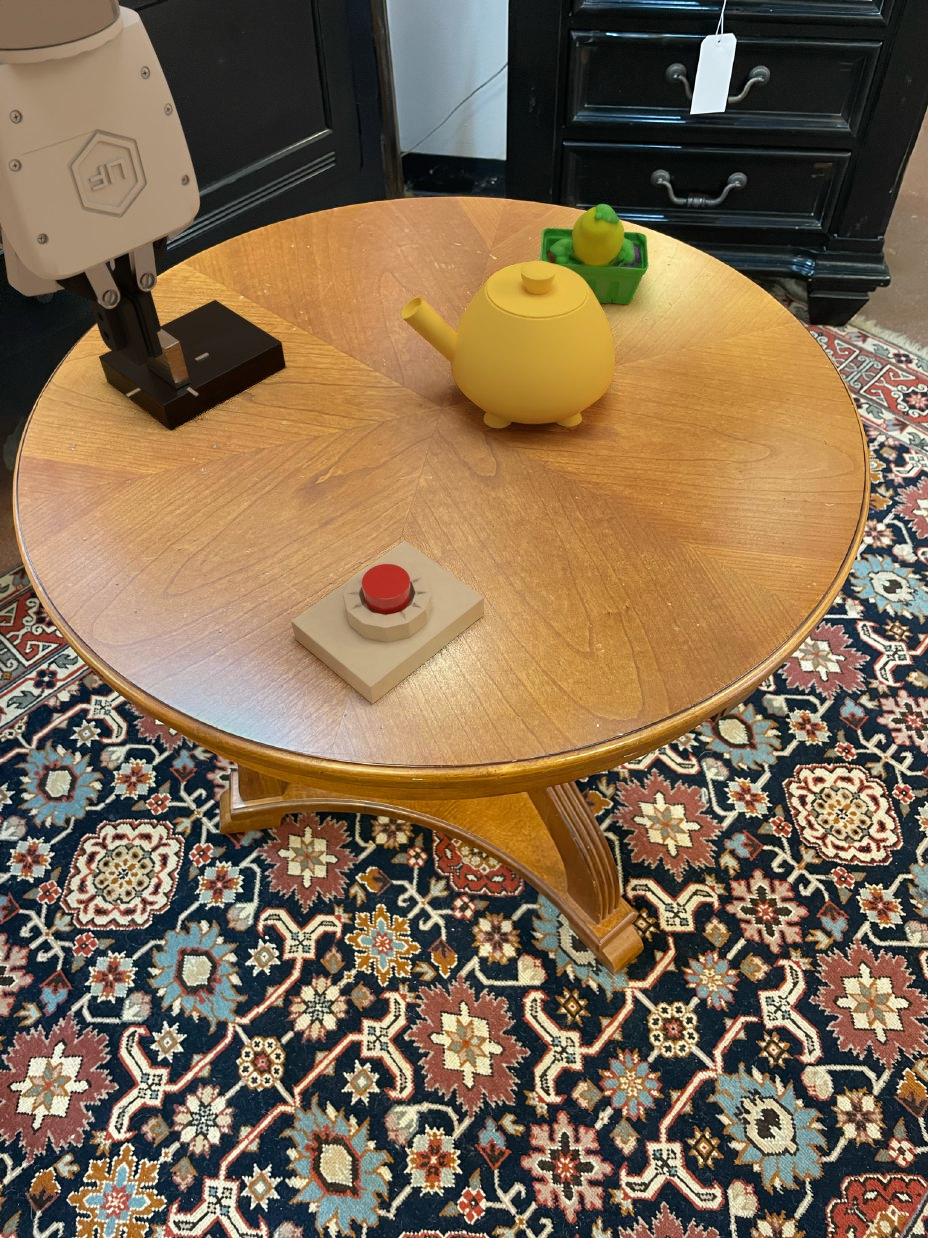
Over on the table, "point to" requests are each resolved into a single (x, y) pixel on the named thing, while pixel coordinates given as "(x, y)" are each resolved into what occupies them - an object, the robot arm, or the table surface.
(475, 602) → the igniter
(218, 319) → the panel
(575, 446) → the table surface
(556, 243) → the fruit basket
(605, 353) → the teapot
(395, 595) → the button
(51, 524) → the table surface
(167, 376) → the hob knob
